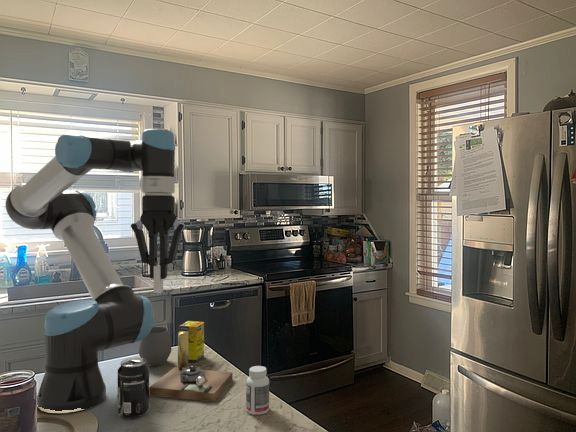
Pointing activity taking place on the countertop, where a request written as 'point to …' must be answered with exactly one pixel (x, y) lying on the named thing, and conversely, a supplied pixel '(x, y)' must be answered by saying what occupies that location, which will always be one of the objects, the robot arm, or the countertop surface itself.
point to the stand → (191, 386)
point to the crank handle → (188, 372)
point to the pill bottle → (257, 391)
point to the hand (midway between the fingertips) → (158, 292)
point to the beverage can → (133, 388)
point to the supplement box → (194, 339)
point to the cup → (156, 346)
